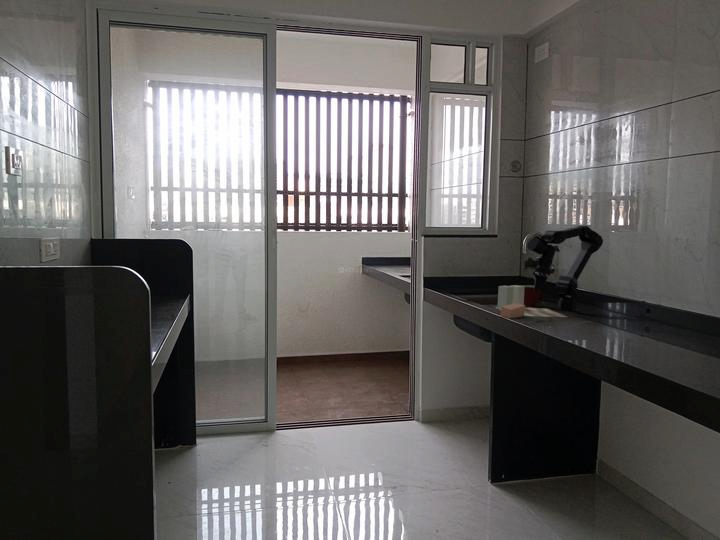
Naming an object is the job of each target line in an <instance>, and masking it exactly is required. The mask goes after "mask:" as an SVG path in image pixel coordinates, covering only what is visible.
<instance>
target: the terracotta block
mask: <svg viewBox="0 0 720 540" xmlns="http://www.w3.org/2000/svg"><path fill="white" fill-rule="evenodd" d="M525 308H526V306H525V305H522V304H518V303H513V304H510V305H506V306H502V307H501V310H500V315H499V316H500V317H502V318H507V319H513V318H519V317H520V318H521V317H525V316H524V313H525Z"/></svg>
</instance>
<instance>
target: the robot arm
mask: <svg viewBox="0 0 720 540" xmlns="http://www.w3.org/2000/svg"><path fill="white" fill-rule="evenodd" d="M576 237H578V239H579V241H580V248H581V249H580V251H579V253H578V254H577V256H576V258H575V260H574V261H573V263H572V265H571V267H570V268H569V270H568V272H567V273H566V275H560V276H559V278H558V280H557V281H556V283H555V284H556V285H555V292H556V296H557V297H558V298H559V300H558V310H560V311H572V312H573V311H574V312H575V311H576V309H577V300H580V298H581V293H580V292H579V290H578V288H579V287H578V286H579V283H578V280H579V277H580V276H581V274H582V272H583V271H584V268H585V267H586V265H587V263H588V261H589V260H590V258H591V256H592V255H593V254H595V253H596V252H598V251H599V250H600V248H601V247H602V245H603V243H604V240H603V237H602V236H601V235H600V234H599V233H598V232H596V231H595V230H592V228H590V227H589V226H587V225H577V226H574V227H570V228H566V229H561V230H546V231H545V232H544V234H543V235H542V236H541V237H540V236H539V235H533V237H532V238H530V239H529V241H528V242H527V246H526V248H527V250H529V251H531V252H533V253H535V254H537V255H539V257H538V258H537V260H533V257H527V259H526V260H524V261H523V270H525V271H526V270H533V272H532V274H531V277H532V278H533V279H534V285H533V286H534V292H537V291H538V290H539V291H540V289H541V288H542V286H544V284H545V282H546V281H548V279H549V277H550V276H551V274H552V270H551V267H552V265H553V261H554V259H555V258H554V257H555V255H556V253H560V251H561V250H560V248H559V246H558V245H559V244H562V243H565V241H566V240H568V239H573V238H576Z"/></svg>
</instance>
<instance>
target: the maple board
mask: <svg viewBox="0 0 720 540" xmlns="http://www.w3.org/2000/svg"><path fill="white" fill-rule="evenodd" d="M497 307H498V306H494V308H496V309H497ZM498 310H500V311H501V309H498ZM523 317H547V318H548V317H549V318H550V317H552V318H553V317H554V318H568V316H567V315H564V314H562V313H559V312H556V311H554V310H552V309H549V308H545V307H544V308H543V307H541V308H540V307H525V313H524V316H523Z"/></svg>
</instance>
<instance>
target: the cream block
mask: <svg viewBox="0 0 720 540" xmlns="http://www.w3.org/2000/svg"><path fill="white" fill-rule="evenodd" d="M510 286H511V287H514V288H513V303H518V304H522V305H523V304H524V288H525V286H523V285H518V284H517V285H516V284H514V285H510Z"/></svg>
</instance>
